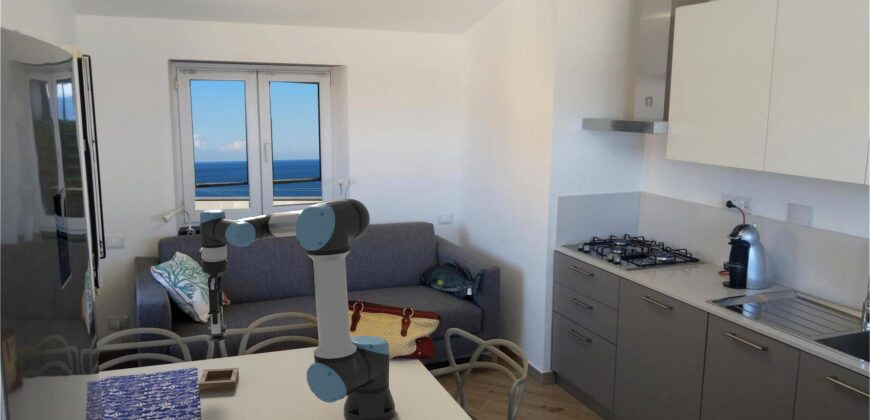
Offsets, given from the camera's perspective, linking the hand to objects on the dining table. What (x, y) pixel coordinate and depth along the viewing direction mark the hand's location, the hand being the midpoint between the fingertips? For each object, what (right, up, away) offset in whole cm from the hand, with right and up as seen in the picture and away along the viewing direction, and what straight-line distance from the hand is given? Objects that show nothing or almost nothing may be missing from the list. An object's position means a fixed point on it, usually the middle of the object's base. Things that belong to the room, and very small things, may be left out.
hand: (217, 329), depth 210 cm
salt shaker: (0, -3, +1) cm, 3 cm away
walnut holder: (0, -19, +3) cm, 19 cm away
